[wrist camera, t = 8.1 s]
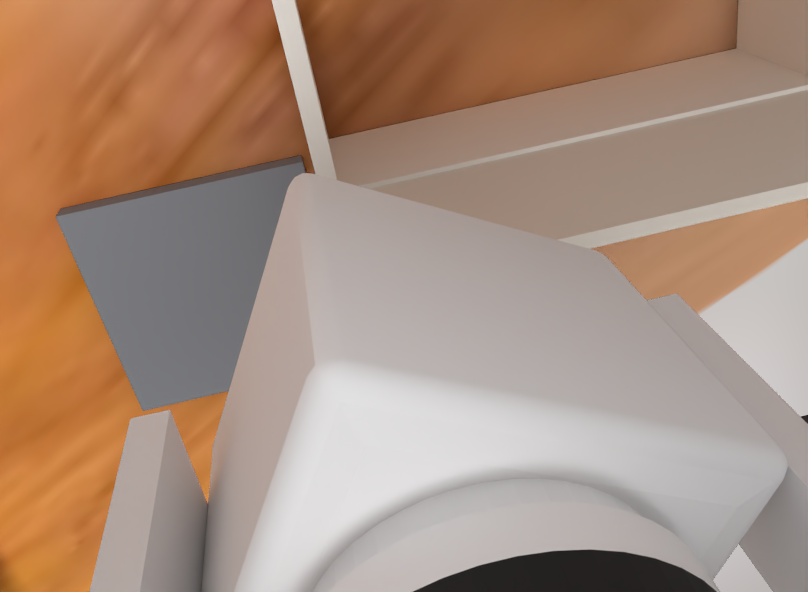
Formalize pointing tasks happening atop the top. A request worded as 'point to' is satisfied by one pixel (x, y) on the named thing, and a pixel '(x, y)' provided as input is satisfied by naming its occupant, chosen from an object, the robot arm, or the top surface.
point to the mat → (180, 274)
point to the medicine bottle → (468, 417)
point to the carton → (597, 140)
